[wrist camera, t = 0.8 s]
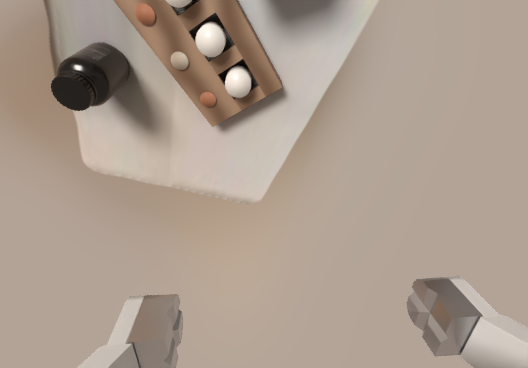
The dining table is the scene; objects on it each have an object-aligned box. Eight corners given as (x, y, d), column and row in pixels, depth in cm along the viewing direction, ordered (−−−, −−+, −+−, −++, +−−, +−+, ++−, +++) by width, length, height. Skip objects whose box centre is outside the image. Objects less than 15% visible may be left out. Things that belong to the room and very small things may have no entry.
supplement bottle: (77, 62, 45) (31, 91, 35) (99, 31, 42) (54, 53, 33) (116, 93, 48) (83, 127, 39) (139, 66, 45) (108, 95, 36)
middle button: (215, 15, 39) (213, 19, 37) (231, 42, 41) (230, 47, 39) (193, 31, 40) (189, 36, 38) (210, 56, 43) (207, 62, 40)
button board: (194, -81, 34) (189, -84, 32) (281, 80, 47) (282, 88, 45) (115, -12, 39) (105, -9, 36) (214, 119, 51) (212, 127, 49)
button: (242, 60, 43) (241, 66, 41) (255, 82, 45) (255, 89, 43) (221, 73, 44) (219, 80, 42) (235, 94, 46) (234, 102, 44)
